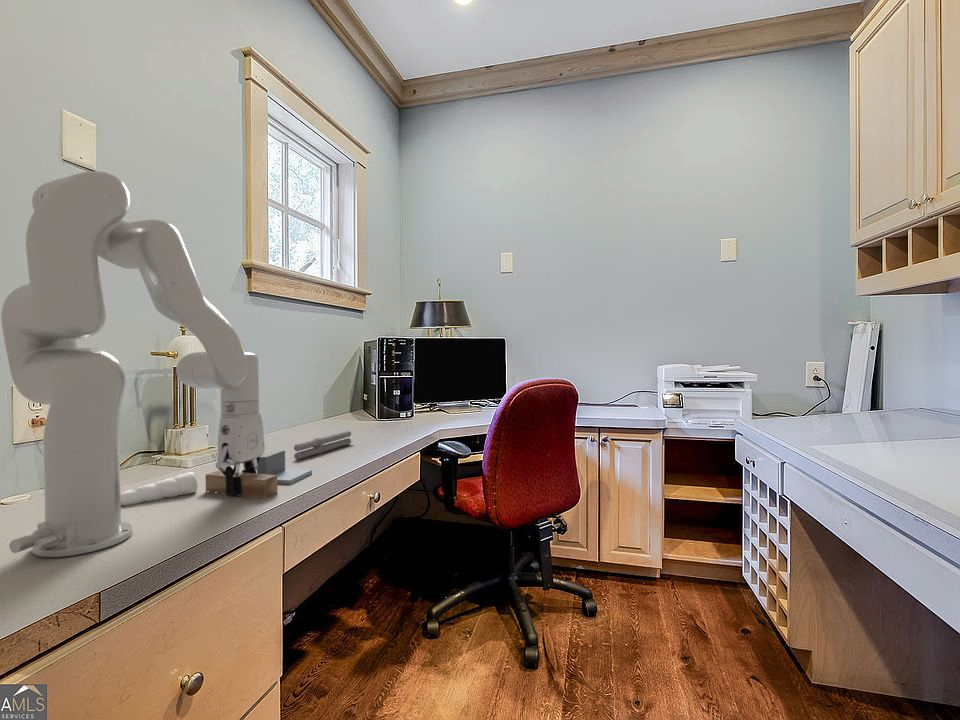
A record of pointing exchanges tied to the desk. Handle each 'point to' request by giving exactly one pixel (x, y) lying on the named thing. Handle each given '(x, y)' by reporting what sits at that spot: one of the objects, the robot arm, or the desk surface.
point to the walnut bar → (244, 484)
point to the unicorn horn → (161, 489)
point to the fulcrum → (280, 468)
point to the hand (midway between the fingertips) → (241, 490)
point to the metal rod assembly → (321, 445)
